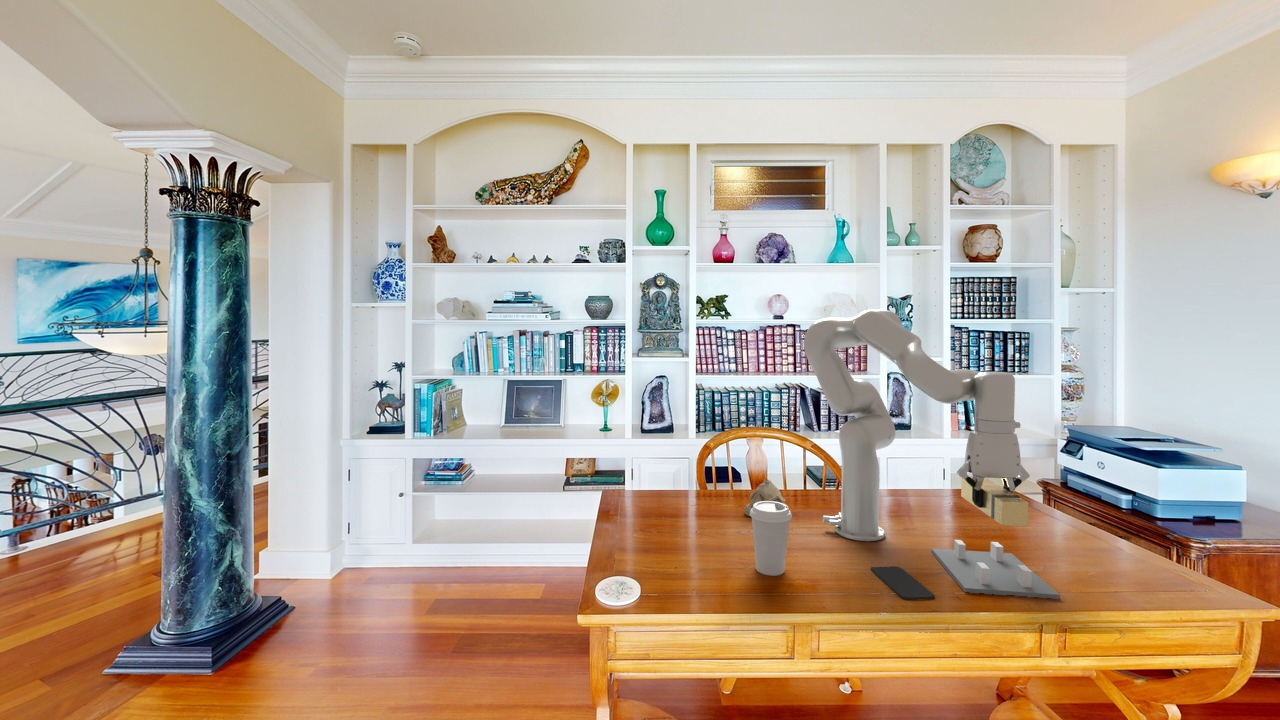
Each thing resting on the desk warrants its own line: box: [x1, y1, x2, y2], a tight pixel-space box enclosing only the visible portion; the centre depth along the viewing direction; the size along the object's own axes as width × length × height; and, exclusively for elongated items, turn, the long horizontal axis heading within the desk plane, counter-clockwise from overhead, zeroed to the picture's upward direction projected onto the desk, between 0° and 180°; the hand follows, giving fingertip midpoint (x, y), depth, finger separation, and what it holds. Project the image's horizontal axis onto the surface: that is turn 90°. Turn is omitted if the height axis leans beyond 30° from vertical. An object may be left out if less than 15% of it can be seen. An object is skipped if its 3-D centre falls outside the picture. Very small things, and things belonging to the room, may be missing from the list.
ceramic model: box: [743, 478, 786, 517], centre depth 169 cm, size 14×11×10 cm
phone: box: [870, 565, 936, 601], centre depth 122 cm, size 7×1×15 cm
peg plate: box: [931, 539, 1061, 600], centre depth 126 cm, size 18×21×4 cm
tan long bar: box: [960, 475, 1030, 527], centre depth 126 cm, size 20×5×5 cm, turn 172°
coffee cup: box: [749, 501, 793, 577], centre depth 129 cm, size 10×10×15 cm
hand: (991, 505), depth 126 cm, fingers closed on tan long bar, 5 cm apart
